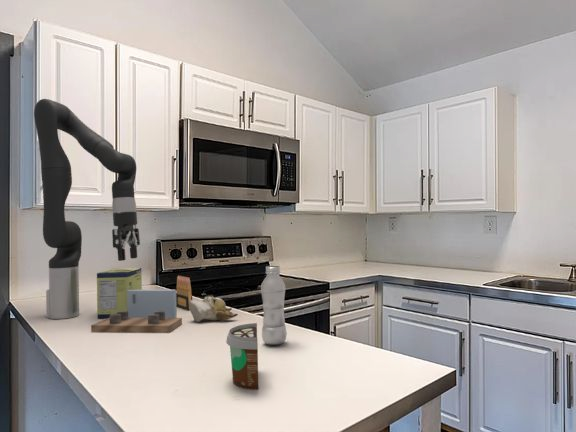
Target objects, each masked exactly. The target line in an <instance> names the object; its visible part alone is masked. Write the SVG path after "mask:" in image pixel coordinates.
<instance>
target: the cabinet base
mask: <svg viewBox="0 0 576 432" xmlns="http://www.w3.org/2000/svg"><path fill="white" fill-rule="evenodd" d="M181 324H182V325H183V318H182V317H177V318H165V311H155V312H154V314H150V315H148V318H128V311H118V312H117V314H111V315H110V318H105V319H101V320H100V321H97V322H96V323H94V324H93V323H92V324H91V326H90V327H91V330H90V331H91V332H90V333H138V334H139V333H148V334H150V333H152V334H153V333H154V334H157V333H160V334H161V333H163V334H164V333H165V332H166V333H167V334H168V332H169V334H170V333H172V332H173V331H175V330H176V329H177V328H178V327H180V326H182V325H181ZM166 333H165V334H166Z"/></svg>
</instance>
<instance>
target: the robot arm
mask: <svg viewBox="0 0 576 432" xmlns="http://www.w3.org/2000/svg"><path fill="white" fill-rule="evenodd" d="M33 118H34V124H35V128H36V133H37V134H36V135H37V139H38V147H39V148H38V149H39V155H40V156H39V158H40V173H41V184H42V185H41V186H42V198H43V199H42V200H43V216H42V217H43V218H42V219H43V220H42V236H43V240H44V242H45V244H46V246H48V247H50V248H52V249H56V253H55V254H54V255H53V257H51V258H50V259H49V260H48V289H47V290H46V292H45V295H46V301H45V302H46V306H45V308H46V311H45V312H46V318H47V319H52V320H59V319H60V320H63V319H64V320H65V319H70V318H74V317H78V316H80V273H79V272H80V269H79V267H80V266H79V265H80V264H79V263H80V260H81V257H82V246H83V245H82V244H83V243H82V242H83V241H82V240H83V237H82V236H83V235H82V229H81V228H80V226H79V224H78V223H76V222H75V221H73V220H72V221H71V220H70V221H69V220H66V215H65V214H66V213H65V204H66V202H67V199H68V196H69V194H70V192H71V189H72V184H73V178H72V177H73V176H72V174H73V173H72V166H71V163H70V160H69V157H68V156H67V154H66V152H65V150H64V148H63V147H62V144H61V142H60V138H59V133H58V130H60V131H62V132H64V133H65V134H66V133H67V135H69V136H71V137H72V138H74V139H75V140H76V141H77V142H78V144H79V145H80V147H82V149H84V151H86V152H88V153H89V154H90V155H91V156H93V157H94V158H95V159H97V160H98V161H99V163H100V164H101V165H102V166H103V167H104V168H105V169H107V170H108V171H109V172H112V173H114V174H117V180H115V181H113V183H112V184H111V196H112V203H111V204H112V205H111V207H112V220H113V221H112V222H113V226H114V227H117V228H113V229H112V231H111V233H112V237H111V238H112V248H114V249H116V250H117V259H118V261H120V262H121V261H123V262H124V261H125V260H126V249H125V248H126V247H125V246H126V244H128V246H129V255H130V259H137V258H138V249H137V248H138V247H139V245H141V242H140V241H141V240H140V232H139V228H138V227H137V228H135V227H134V226H136V225H137V224H138V214H137V203H136V199H135V188H134V186H135V182H136V175H137V163H136V160H135V159H134V156H131V155H130V154H127V153H123V152H120V151H118V150H117V149H115V148H114V145H113V144H112V142H109V141H108V140H107V139H105V138H104V137H103V136H101V135H100V134H98V133H97V132H96V131H95V130H93V129H92V128H90V127H89V126H87V124H85V123H84V122H83V121H82V120H81V119H80V118H79V117H78V116H77V115H76V114H75V113H74V112H73V111H72V110H71V109H70V108H69V107H68V106H66V105H65V104H63V103H60V102H59V101H55V100H51V99H49V98H48V99H47V98H42V99H39V100H38V101H37V102H36V104H35V106H34V111H33Z"/></svg>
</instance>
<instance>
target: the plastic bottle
mask: <svg viewBox="0 0 576 432" xmlns="http://www.w3.org/2000/svg"><path fill="white" fill-rule="evenodd" d="M280 274H281V266H280V265H268V266H267V265H266V266H265V275H266V277H264V279H263V281H262V283H261V285H260V292H261V299H262V307H263V309H262V310H263V319H262V320H263V321H262V328H261V338H262V342H263V343H264V344H266V345H271V346H273V345H274V346H276V345H282V344H284V343H285V341H286V340H287V334H288V333H287V327H286V320H285V296H286V284H285V282H284V280H283V279H282V277H281V276H280Z"/></svg>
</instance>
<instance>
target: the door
mask: <svg viewBox="0 0 576 432" xmlns="http://www.w3.org/2000/svg"><path fill="white" fill-rule="evenodd" d="M176 293H177V289H142V290H128V291H127V311H128V318H148V315H150V314H154V312H155V311H165V318H178V316H177V314H178V313H177V307H176Z"/></svg>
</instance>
